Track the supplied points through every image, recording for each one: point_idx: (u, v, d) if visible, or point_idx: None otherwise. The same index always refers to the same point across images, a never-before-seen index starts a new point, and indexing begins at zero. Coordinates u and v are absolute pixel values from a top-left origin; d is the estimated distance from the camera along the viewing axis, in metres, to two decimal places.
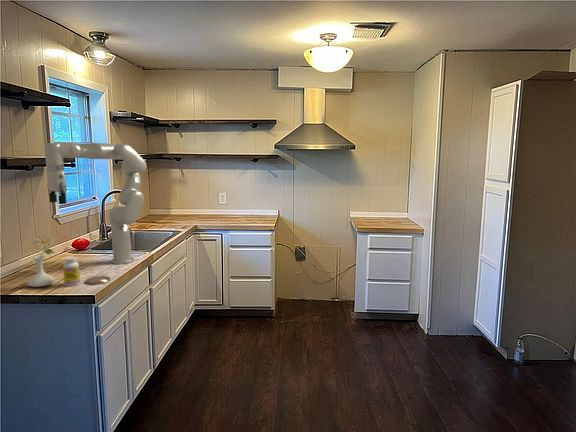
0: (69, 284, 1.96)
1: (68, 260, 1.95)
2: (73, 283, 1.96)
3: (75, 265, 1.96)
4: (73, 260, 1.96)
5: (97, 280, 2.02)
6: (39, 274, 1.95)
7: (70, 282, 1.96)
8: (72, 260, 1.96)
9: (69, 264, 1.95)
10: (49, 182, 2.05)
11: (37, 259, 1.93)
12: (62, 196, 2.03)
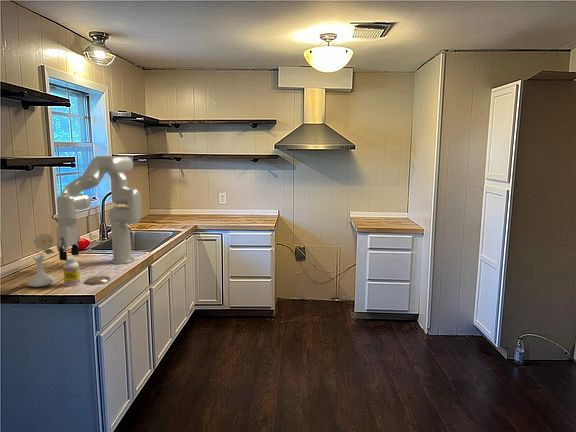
0: (69, 284, 1.96)
1: (68, 260, 1.95)
2: (73, 283, 1.96)
3: (75, 265, 1.96)
4: (73, 260, 1.96)
5: (97, 280, 2.02)
6: (39, 274, 1.95)
7: (70, 282, 1.96)
8: (72, 260, 1.96)
9: (69, 264, 1.95)
10: (70, 237, 1.93)
11: (37, 259, 1.93)
12: None
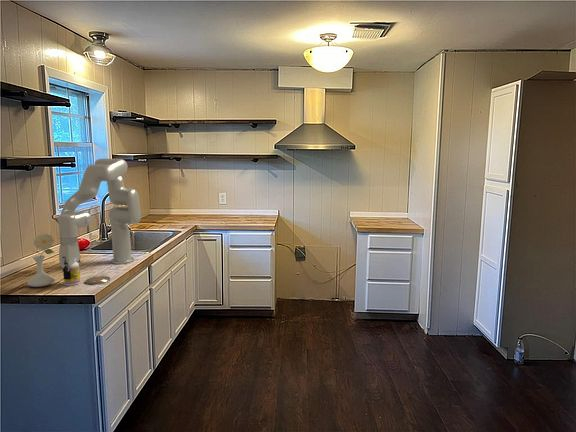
0: (69, 284, 1.96)
1: None
2: (73, 283, 1.96)
3: (75, 265, 1.96)
4: None
5: (97, 280, 2.02)
6: (39, 274, 1.95)
7: (70, 282, 1.96)
8: None
9: None
10: (72, 255, 1.95)
11: (37, 259, 1.93)
12: None
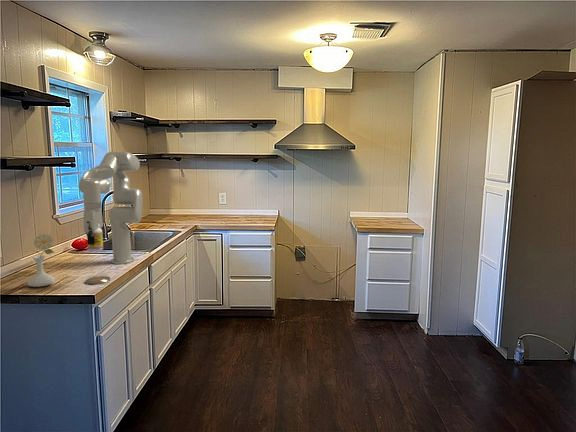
0: (93, 249, 1.98)
1: None
2: (97, 248, 1.98)
3: (99, 231, 1.98)
4: None
5: (97, 280, 2.02)
6: (39, 274, 1.95)
7: (94, 248, 1.98)
8: None
9: None
10: (96, 220, 1.97)
11: (37, 259, 1.93)
12: None
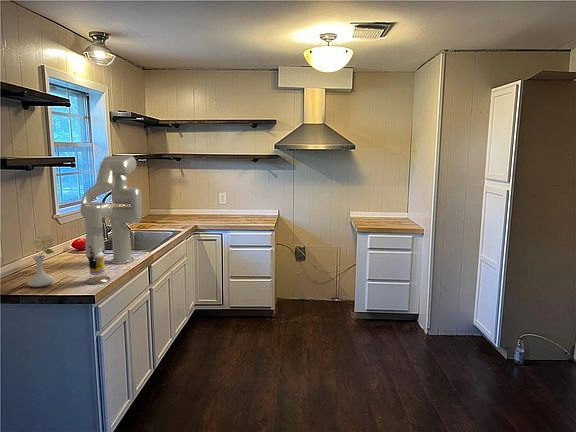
0: (94, 273, 2.00)
1: None
2: (98, 272, 2.00)
3: (100, 255, 2.00)
4: None
5: (97, 280, 2.02)
6: (39, 274, 1.95)
7: (96, 272, 1.99)
8: None
9: None
10: (98, 245, 1.98)
11: (37, 259, 1.93)
12: None
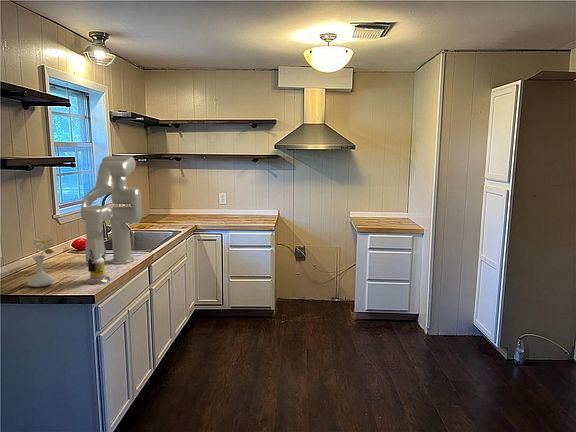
0: (95, 279, 2.00)
1: None
2: (99, 278, 2.01)
3: (101, 261, 2.01)
4: (99, 256, 2.01)
5: None
6: (39, 274, 1.95)
7: (96, 278, 2.00)
8: None
9: (95, 259, 2.00)
10: (98, 249, 1.99)
11: (37, 259, 1.93)
12: None
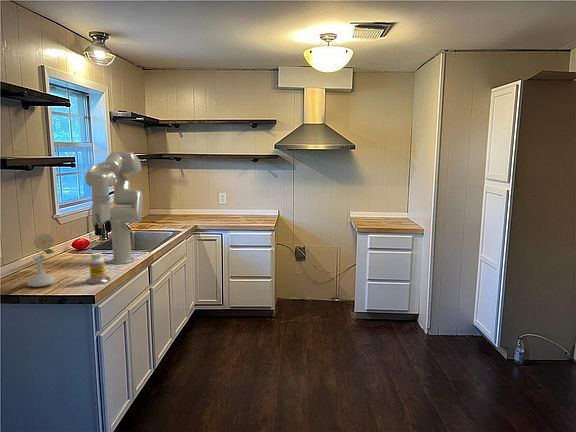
0: (95, 279, 2.00)
1: (94, 256, 1.99)
2: (99, 278, 2.01)
3: (101, 261, 2.01)
4: (99, 256, 2.01)
5: None
6: (39, 274, 1.95)
7: (96, 278, 2.00)
8: (98, 256, 2.00)
9: (95, 259, 2.00)
10: (104, 213, 2.01)
11: (37, 259, 1.93)
12: None
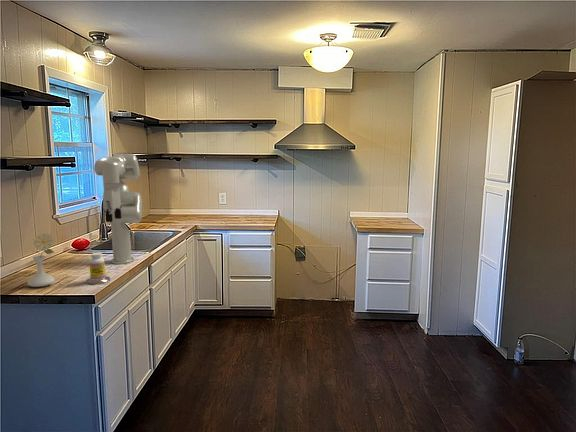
0: (95, 279, 2.00)
1: (94, 256, 1.99)
2: (99, 278, 2.01)
3: (101, 261, 2.01)
4: (99, 256, 2.01)
5: None
6: (39, 274, 1.95)
7: (96, 278, 2.00)
8: (98, 256, 2.00)
9: (95, 259, 2.00)
10: (115, 200, 2.07)
11: (37, 259, 1.93)
12: None
